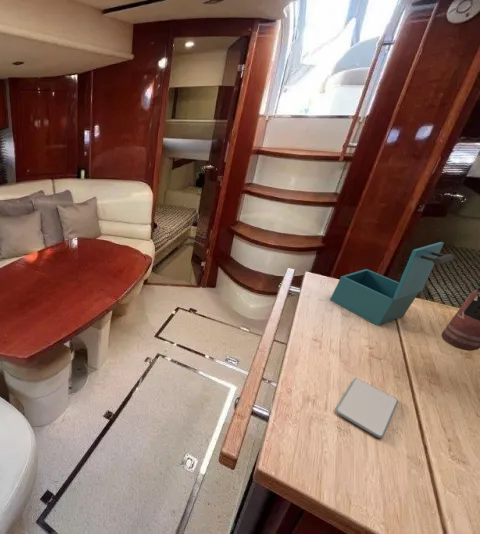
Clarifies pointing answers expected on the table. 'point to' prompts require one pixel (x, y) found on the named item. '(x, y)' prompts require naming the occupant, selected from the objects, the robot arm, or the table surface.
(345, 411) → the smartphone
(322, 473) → the table surface
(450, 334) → the can
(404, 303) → the box
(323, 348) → the table surface
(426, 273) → the cooler lid
